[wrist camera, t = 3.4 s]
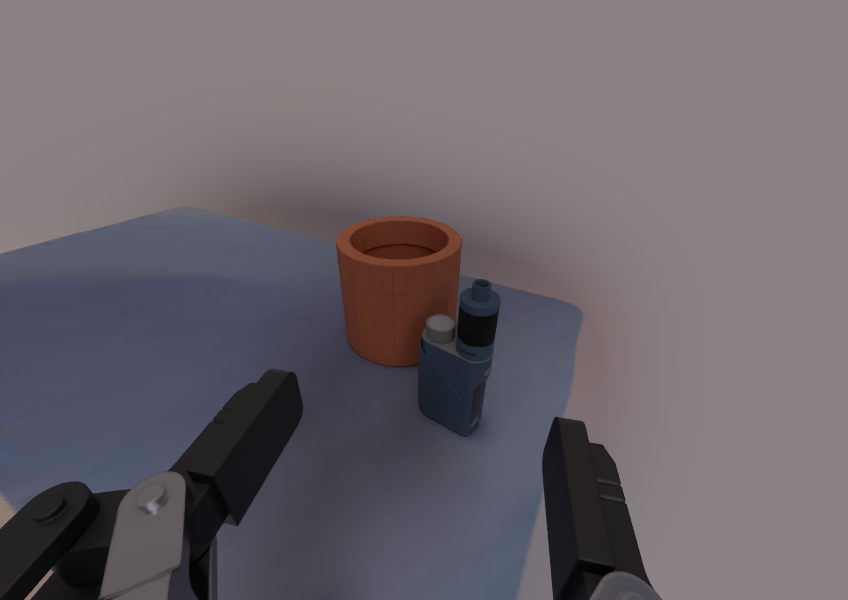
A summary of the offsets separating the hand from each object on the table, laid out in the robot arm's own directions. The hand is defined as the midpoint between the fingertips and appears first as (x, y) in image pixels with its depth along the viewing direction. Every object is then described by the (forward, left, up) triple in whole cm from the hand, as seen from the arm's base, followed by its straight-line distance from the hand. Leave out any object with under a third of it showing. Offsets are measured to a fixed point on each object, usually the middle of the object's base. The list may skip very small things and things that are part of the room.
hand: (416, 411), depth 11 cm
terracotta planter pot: (+6, -21, -13) cm, 25 cm away
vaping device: (0, -11, -13) cm, 18 cm away
